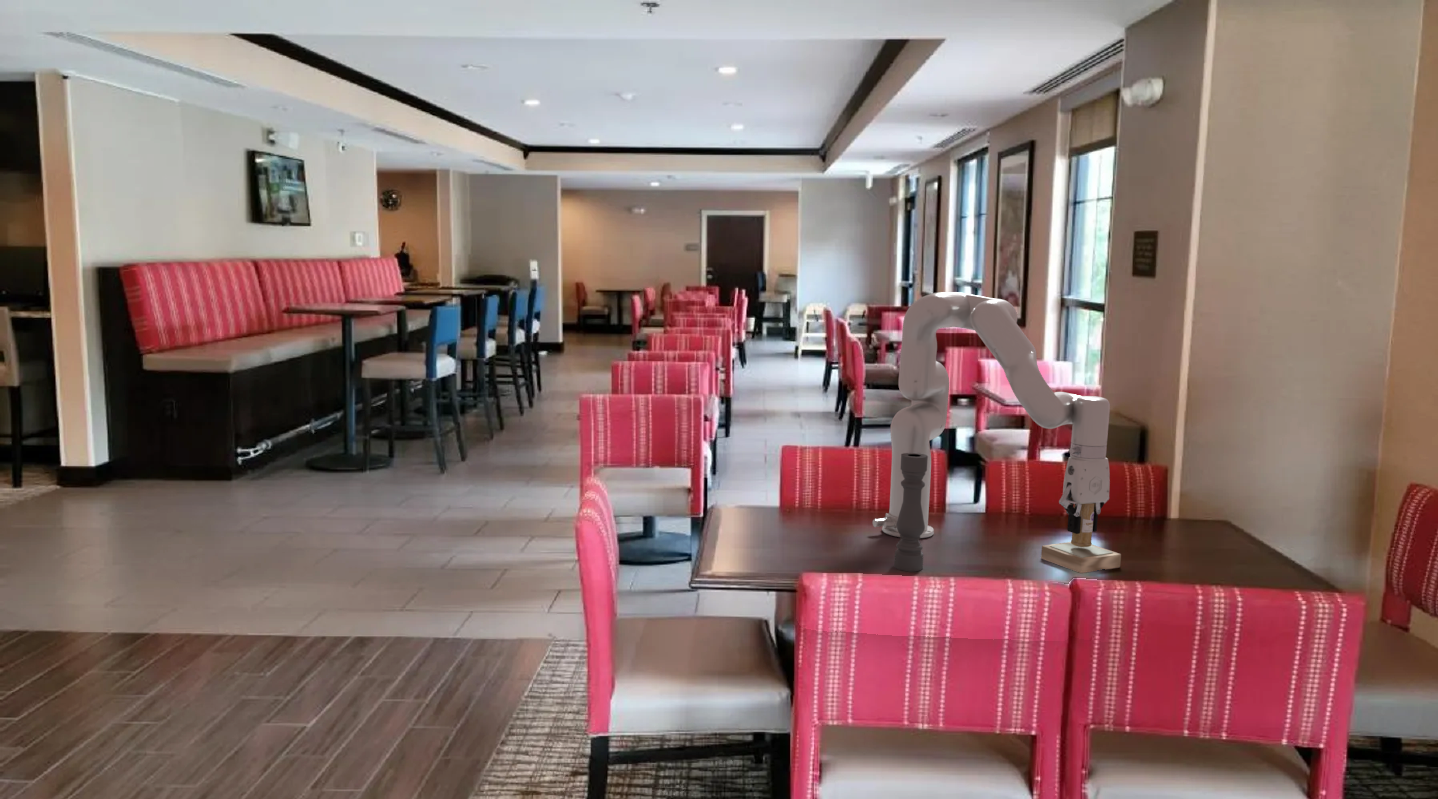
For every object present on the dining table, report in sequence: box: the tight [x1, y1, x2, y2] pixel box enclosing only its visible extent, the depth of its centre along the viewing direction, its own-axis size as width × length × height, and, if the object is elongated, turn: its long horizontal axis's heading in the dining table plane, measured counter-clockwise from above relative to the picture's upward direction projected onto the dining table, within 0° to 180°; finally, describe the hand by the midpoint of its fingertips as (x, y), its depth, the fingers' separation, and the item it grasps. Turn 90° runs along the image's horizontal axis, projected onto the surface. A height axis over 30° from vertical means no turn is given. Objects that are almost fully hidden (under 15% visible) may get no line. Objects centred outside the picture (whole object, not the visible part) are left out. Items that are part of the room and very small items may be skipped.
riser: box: [1040, 541, 1122, 574], centre depth 235 cm, size 12×12×3 cm
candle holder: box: [893, 453, 928, 572], centre depth 226 cm, size 6×6×25 cm
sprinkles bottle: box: [1070, 503, 1094, 547], centre depth 233 cm, size 5×5×14 cm
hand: (1081, 530), depth 234 cm, fingers closed on sprinkles bottle, 4 cm apart
